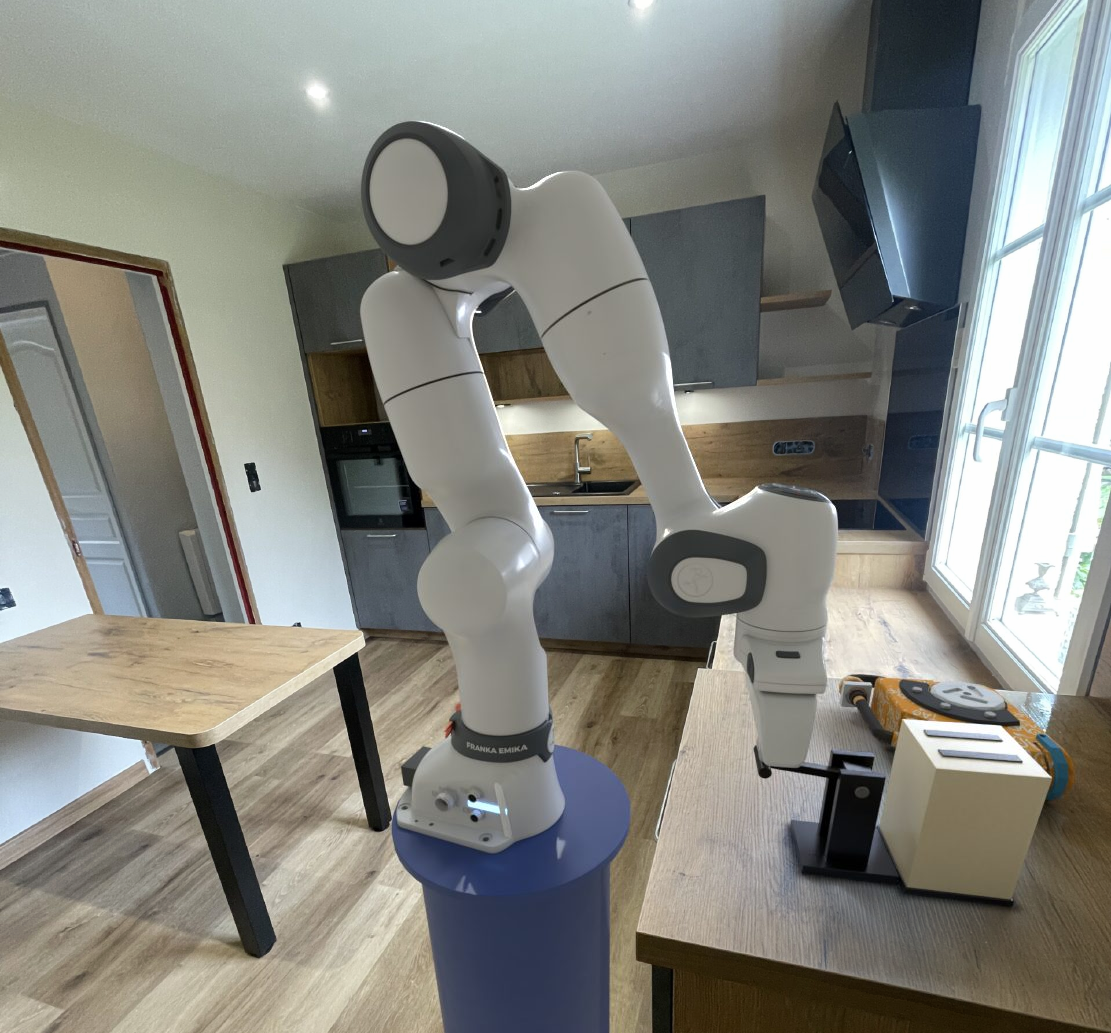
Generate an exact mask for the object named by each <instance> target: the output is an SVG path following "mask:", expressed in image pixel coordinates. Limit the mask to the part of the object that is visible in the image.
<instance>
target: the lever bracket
mask: <svg viewBox="0 0 1111 1033" xmlns="http://www.w3.org/2000/svg"><path fill="white" fill-rule="evenodd" d="M875 759H876V758H875V755H874V753H873V752H871V751H857V750H844V749H833V748H832V749H830V753H829V760H828V765H827V766H832V767H838V768H840V765H841V762H842V760H844V761H850V762H856V763H862V764H868V765H869V767H870V769H871V771H872V772H868V771H857V770H845V769H839V774H838V780H836V779H830V778H825V784H824V789H823V796H822V801H821V806H820V814H819V818H818V819H819V820H818V822H817V821H806V820H798V819H797V820H796V819H791V820H790V827H789V828H790V832H791V836H792V841H793V845H794V848H795V853H796V856H797V860H798V865H799V868H800V873H801V874H803V875H811V876H820V877H828V878H835V879H837V878H838V879H844V880H852V881H861V882H870V883H878V884H887V885H895V886H898V883H899V875H898V873H897V871H896V868H895V866H894V864H893V862H892V860H891V857H890V855H889V853H888V851H887V849H886V846H885V844H884V842H883V840H882V838H881V835H880V833H879V831H878V829H876V828H877V822H878V818H879V813H880V809H881V808H880V807H881V803H882V798H883V793H884V788H885V784H886V779H887V777H886V776H885V774H884V772H880V771H873V767H874V763H875Z"/></svg>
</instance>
